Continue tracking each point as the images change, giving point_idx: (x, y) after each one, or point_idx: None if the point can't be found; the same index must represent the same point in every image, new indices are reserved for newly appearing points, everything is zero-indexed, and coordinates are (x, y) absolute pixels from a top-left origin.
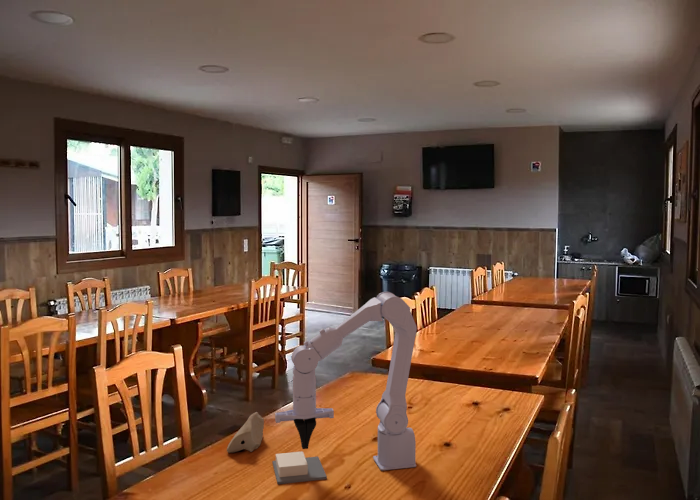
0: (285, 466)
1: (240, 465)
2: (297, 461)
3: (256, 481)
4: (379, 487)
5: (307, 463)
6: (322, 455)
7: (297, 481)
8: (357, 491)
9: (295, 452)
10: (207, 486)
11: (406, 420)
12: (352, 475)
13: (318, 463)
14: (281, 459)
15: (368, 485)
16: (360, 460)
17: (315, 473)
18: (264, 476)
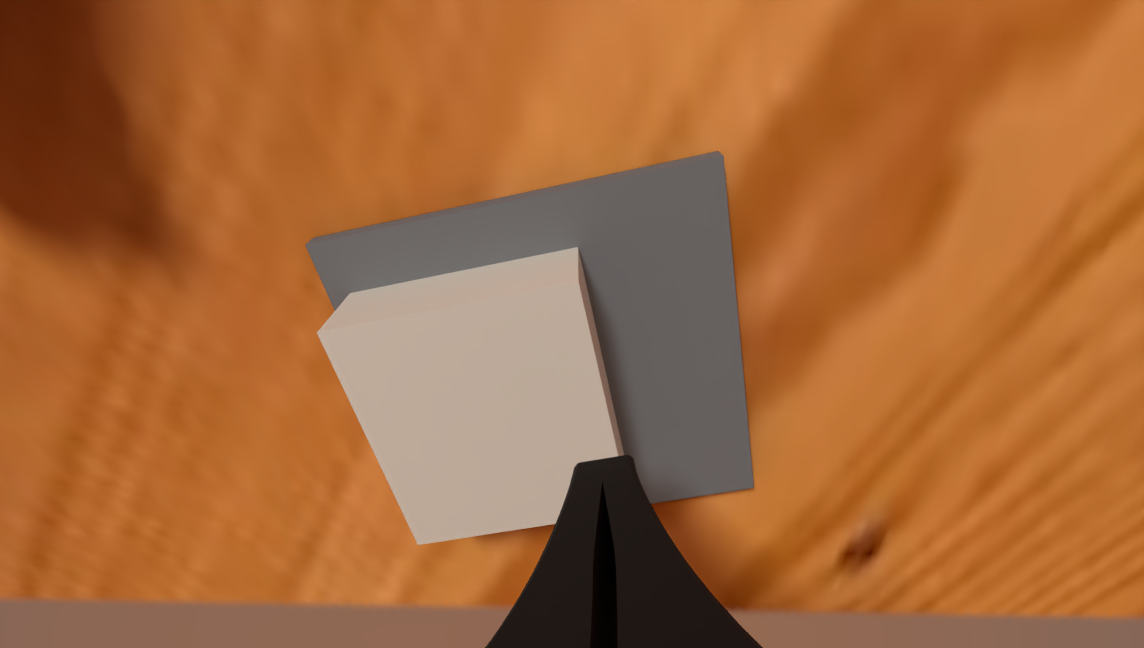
0: (462, 536)
1: (60, 272)
2: (545, 467)
3: (297, 491)
4: (1043, 560)
5: (620, 298)
6: (768, 69)
7: None
8: (901, 591)
9: (506, 306)
10: (28, 534)
11: None
12: (934, 435)
13: (713, 300)
14: (403, 435)
15: (988, 542)
16: (1101, 195)
17: (679, 449)
18: (326, 436)
